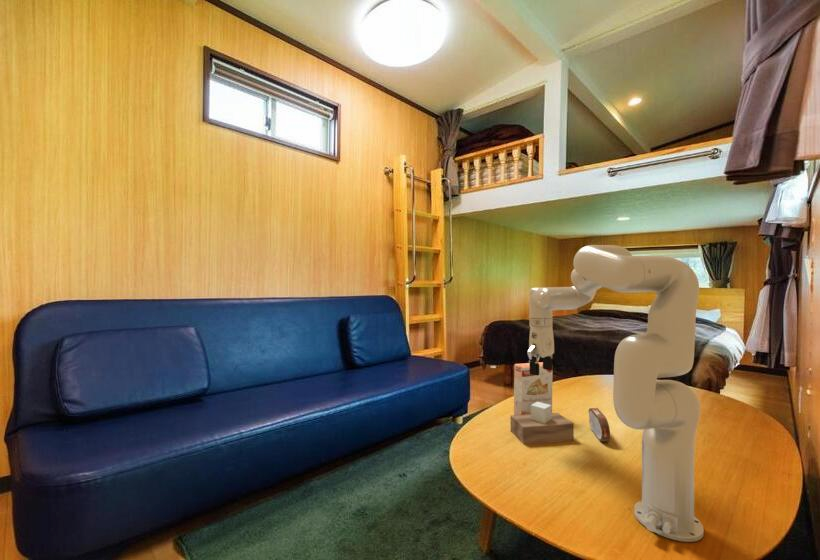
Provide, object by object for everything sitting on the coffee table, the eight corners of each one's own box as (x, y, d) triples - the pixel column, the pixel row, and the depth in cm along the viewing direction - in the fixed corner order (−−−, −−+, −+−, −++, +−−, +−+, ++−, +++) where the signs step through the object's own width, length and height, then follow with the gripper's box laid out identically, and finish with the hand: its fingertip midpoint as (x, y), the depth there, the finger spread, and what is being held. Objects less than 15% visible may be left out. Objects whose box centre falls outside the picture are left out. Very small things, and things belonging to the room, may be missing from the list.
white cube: (544, 423, 120) (544, 408, 120) (530, 419, 124) (530, 405, 123) (551, 419, 123) (551, 405, 123) (537, 415, 127) (537, 401, 127)
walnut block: (573, 441, 120) (573, 423, 120) (523, 445, 117) (523, 427, 117) (557, 429, 130) (557, 412, 130) (510, 432, 127) (510, 415, 127)
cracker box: (522, 421, 136) (521, 367, 135) (513, 415, 141) (513, 363, 141) (553, 417, 139) (553, 364, 139) (543, 412, 145) (543, 361, 145)
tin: (611, 446, 115) (611, 420, 115) (600, 445, 116) (600, 419, 116) (596, 427, 130) (596, 404, 130) (587, 426, 131) (587, 404, 131)
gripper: (539, 326, 115) (539, 379, 115) (562, 321, 127) (562, 369, 127) (518, 324, 120) (518, 374, 120) (541, 319, 132) (542, 365, 132)
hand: (541, 371), depth 123 cm, fingers open, 9 cm apart
